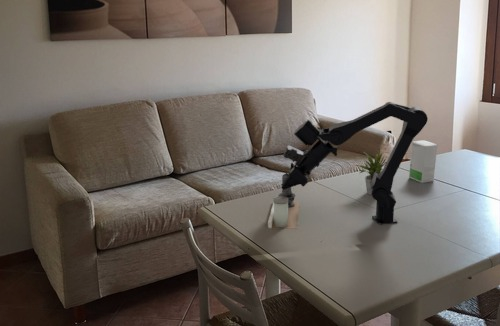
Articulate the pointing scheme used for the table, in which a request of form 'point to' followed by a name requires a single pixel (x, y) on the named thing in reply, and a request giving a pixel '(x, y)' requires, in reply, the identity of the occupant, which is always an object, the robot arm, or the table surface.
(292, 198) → the grey chess piece
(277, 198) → the sage ceramic jar
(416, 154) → the skincare box
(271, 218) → the rail
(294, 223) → the shelf board
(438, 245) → the table surface
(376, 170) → the house plant
